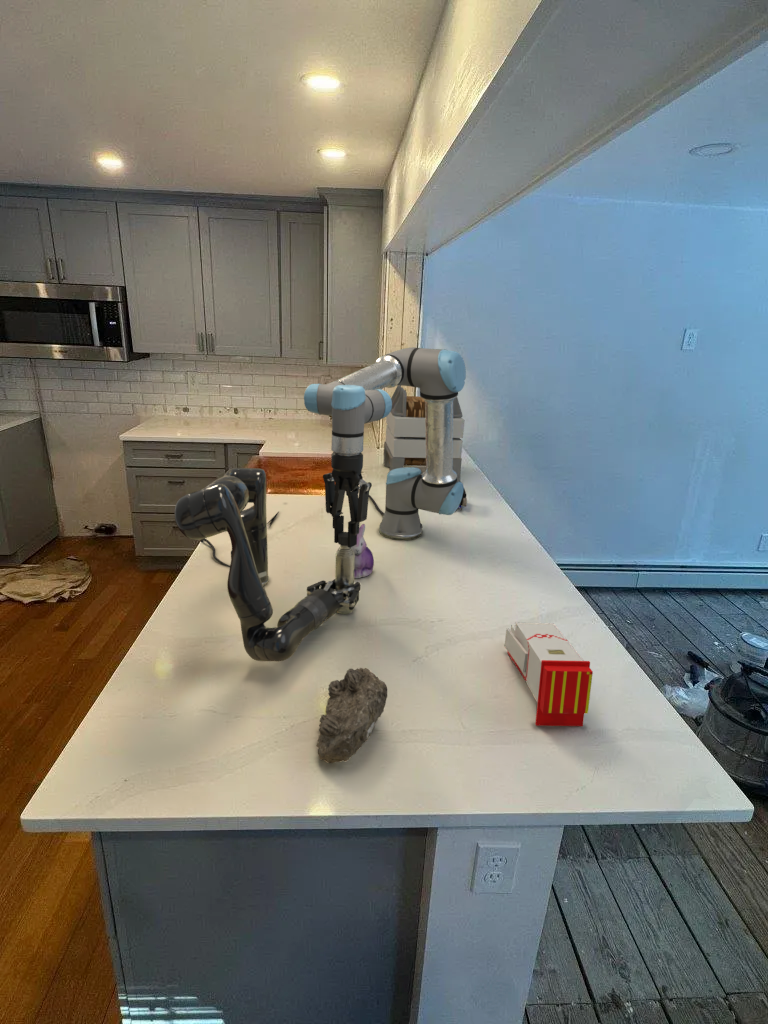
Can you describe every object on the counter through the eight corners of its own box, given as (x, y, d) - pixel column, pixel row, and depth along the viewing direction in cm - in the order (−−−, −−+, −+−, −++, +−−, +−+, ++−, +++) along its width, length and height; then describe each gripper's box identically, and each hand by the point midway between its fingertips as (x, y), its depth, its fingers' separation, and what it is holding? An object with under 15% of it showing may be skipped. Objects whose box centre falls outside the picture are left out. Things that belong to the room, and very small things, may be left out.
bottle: (344, 603, 152) (346, 531, 145) (356, 610, 148) (359, 536, 141) (331, 609, 148) (331, 536, 141) (343, 616, 145) (344, 541, 138)
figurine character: (467, 515, 225) (461, 499, 238) (469, 498, 221) (463, 482, 235) (450, 514, 224) (445, 498, 238) (452, 497, 221) (447, 482, 234)
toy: (550, 607, 134) (601, 667, 105) (545, 659, 137) (594, 732, 108) (499, 606, 134) (537, 666, 104) (495, 659, 137) (530, 731, 107)
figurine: (352, 582, 163) (353, 533, 158) (338, 567, 172) (338, 521, 166) (381, 576, 167) (383, 529, 162) (366, 562, 176) (367, 517, 171)
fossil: (321, 669, 117) (379, 637, 112) (350, 699, 119) (408, 669, 114) (296, 756, 97) (365, 723, 92) (332, 790, 100) (400, 759, 95)
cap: (336, 545, 140) (336, 536, 140) (339, 539, 144) (339, 531, 143) (351, 546, 140) (351, 538, 139) (354, 540, 144) (354, 532, 143)
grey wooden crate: (382, 463, 289) (386, 382, 275) (445, 464, 293) (451, 384, 279) (390, 482, 257) (394, 392, 243) (460, 483, 261) (468, 394, 247)
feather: (286, 506, 225) (288, 502, 225) (268, 529, 199) (271, 525, 198) (282, 503, 225) (284, 499, 225) (264, 526, 199) (267, 522, 198)
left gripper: (339, 604, 130) (374, 576, 144) (288, 589, 136) (326, 563, 150) (339, 632, 132) (373, 602, 147) (288, 616, 138) (326, 588, 153)
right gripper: (385, 455, 133) (381, 547, 140) (330, 443, 141) (329, 531, 149) (365, 461, 127) (362, 557, 135) (310, 448, 136) (310, 539, 144)
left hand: (349, 582), depth 148 cm, fingers closed on bottle, 5 cm apart
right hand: (345, 543), depth 142 cm, fingers closed on cap, 4 cm apart
